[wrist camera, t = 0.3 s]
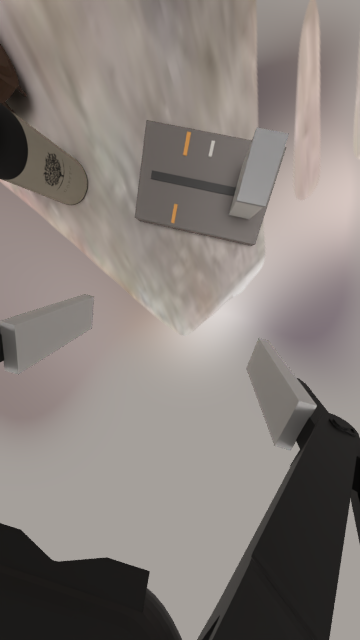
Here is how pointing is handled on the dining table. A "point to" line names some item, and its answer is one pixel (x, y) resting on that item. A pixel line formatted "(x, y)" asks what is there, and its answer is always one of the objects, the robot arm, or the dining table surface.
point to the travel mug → (38, 162)
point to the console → (194, 182)
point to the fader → (258, 172)
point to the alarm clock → (7, 79)
